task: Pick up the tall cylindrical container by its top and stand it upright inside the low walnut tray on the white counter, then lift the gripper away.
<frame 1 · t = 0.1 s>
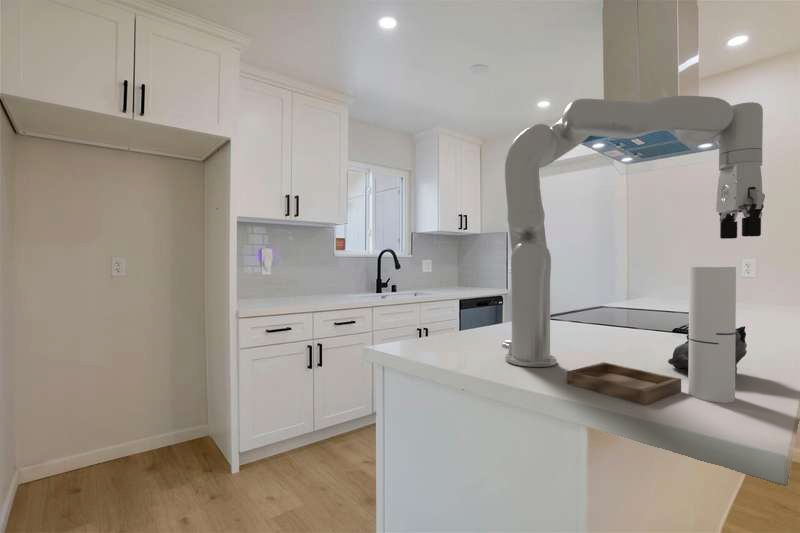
hand: (739, 237, 92), 31 cm above the worktop, tool pointing down, fingers open, 9 cm apart
cylindrical container: (711, 397, 78), on the worktop
dark grey lumpy shape: (705, 374, 94), on the worktop
walnut tray: (622, 387, 84), on the worktop
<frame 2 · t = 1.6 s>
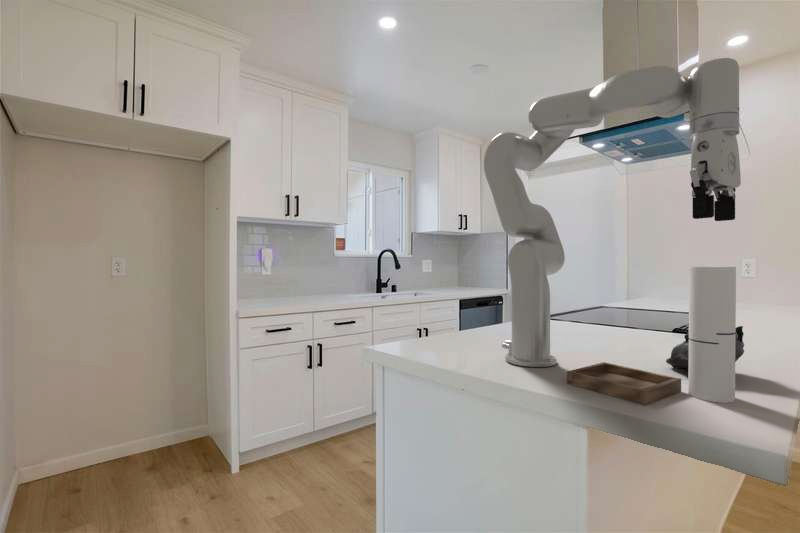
hand: (714, 219, 78), 34 cm above the worktop, tool pointing down, fingers open, 9 cm apart
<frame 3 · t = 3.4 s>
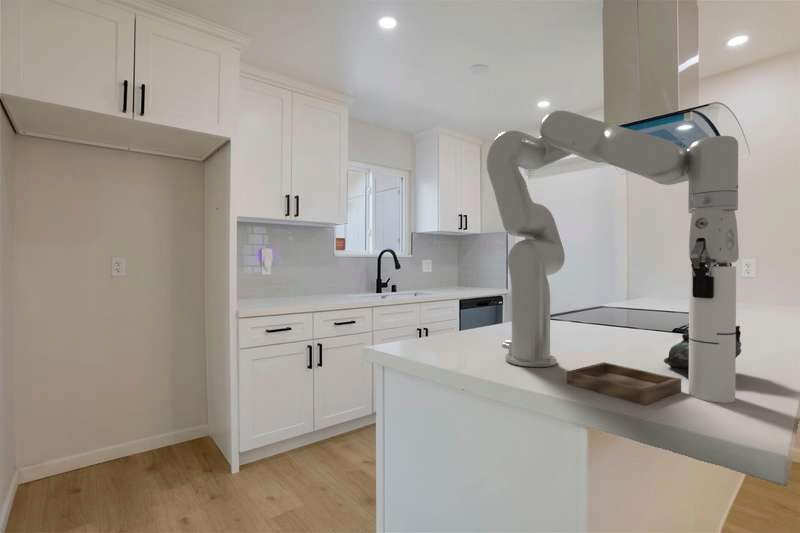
hand: (711, 296, 78), 19 cm above the worktop, tool pointing down, fingers closed on cylindrical container, 7 cm apart
cylindrical container: (711, 397, 78), on the worktop, touching gripper
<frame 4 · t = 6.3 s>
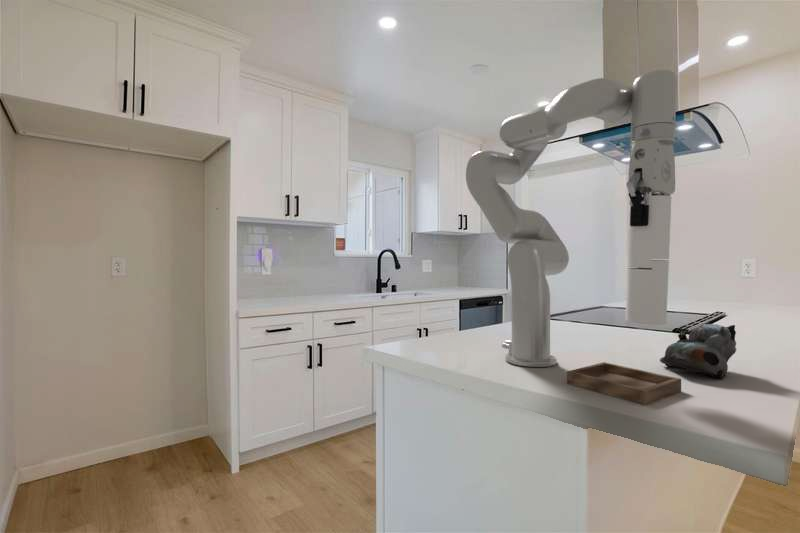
hand: (648, 226, 82), 33 cm above the worktop, tool pointing down, fingers closed on cylindrical container, 7 cm apart
cylindrical container: (645, 322, 83), point 14 cm above the worktop, touching gripper
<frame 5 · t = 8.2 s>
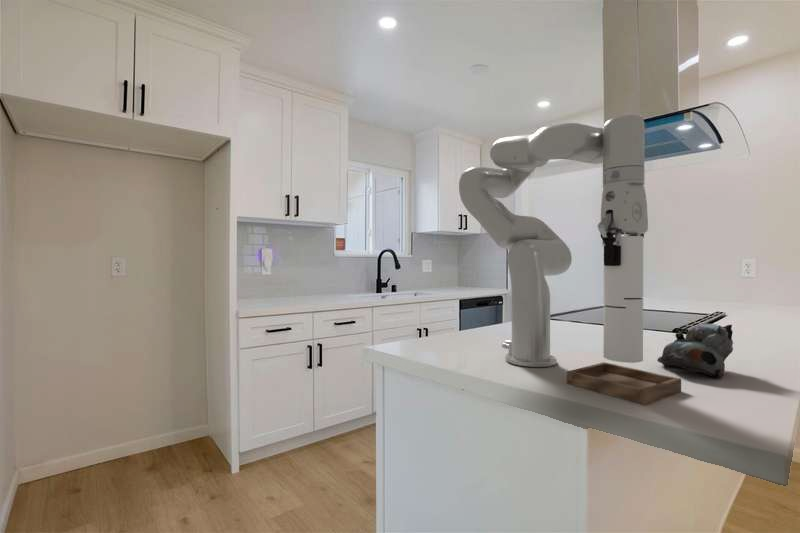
hand: (622, 264, 84), 25 cm above the worktop, tool pointing down, fingers closed on cylindrical container, 7 cm apart
cylindrical container: (622, 359, 84), point 6 cm above the worktop, touching gripper
when the fingers open (21 cm above the worktop, at t = 9.5 s): cylindrical container drops 1 cm, resting on walnut tray.
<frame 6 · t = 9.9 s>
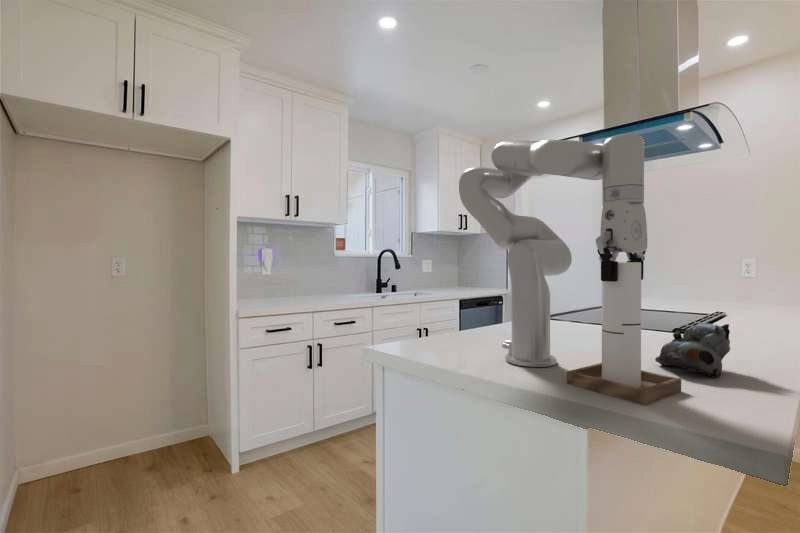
hand: (622, 280, 84), 22 cm above the worktop, tool pointing down, fingers open, 9 cm apart
cylindrical container: (620, 383, 84), point 1 cm above the worktop, touching walnut tray
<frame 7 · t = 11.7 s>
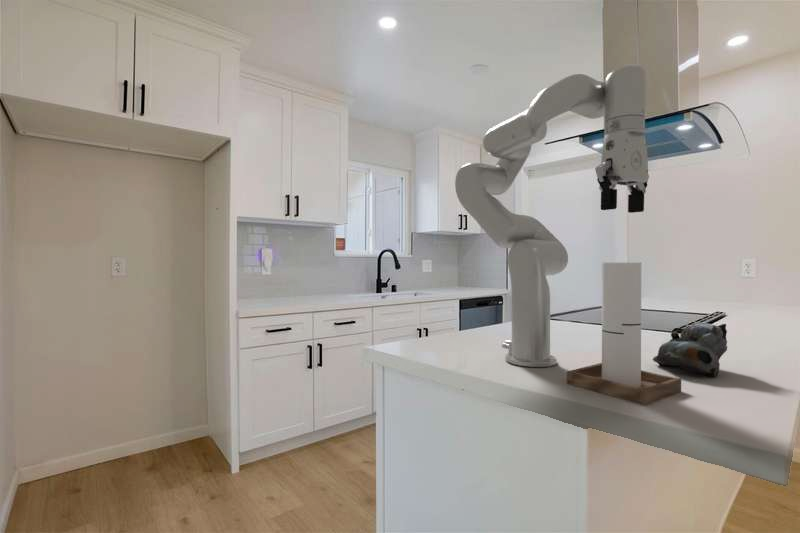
hand: (622, 210, 87), 37 cm above the worktop, tool pointing down, fingers open, 9 cm apart
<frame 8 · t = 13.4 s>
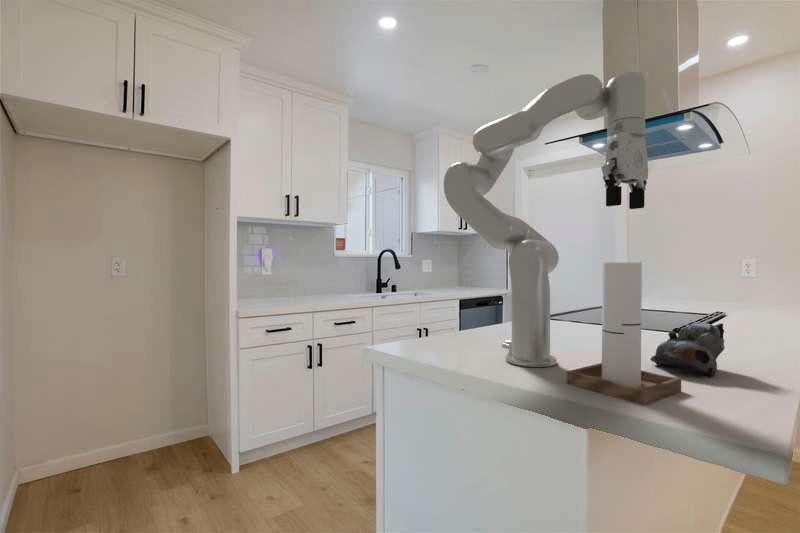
hand: (625, 207, 93), 38 cm above the worktop, tool pointing down, fingers open, 9 cm apart
at the end: cylindrical container 0.2 cm off-centre on the walnut tray, point 0.6 cm above the walnut tray's base; cylindrical container tilted 0°; the gripper is holding nothing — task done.
